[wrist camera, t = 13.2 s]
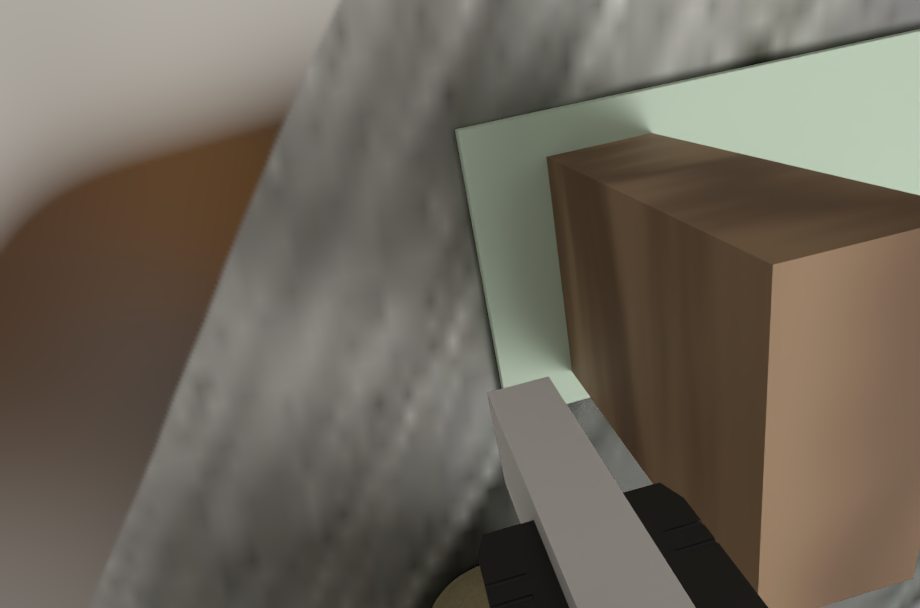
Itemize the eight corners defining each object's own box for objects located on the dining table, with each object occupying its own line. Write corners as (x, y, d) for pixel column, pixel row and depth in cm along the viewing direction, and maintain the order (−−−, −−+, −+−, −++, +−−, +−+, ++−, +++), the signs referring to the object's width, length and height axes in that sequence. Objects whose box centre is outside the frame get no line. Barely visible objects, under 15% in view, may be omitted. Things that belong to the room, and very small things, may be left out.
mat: (505, 411, 25) (509, 419, 24) (454, 129, 20) (457, 131, 20) (919, 302, 27) (931, 307, 26) (965, 19, 22) (981, 18, 21)
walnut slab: (572, 371, 24) (756, 627, 13) (546, 156, 20) (772, 264, 10) (661, 348, 24) (913, 578, 14) (652, 132, 21) (987, 211, 10)
